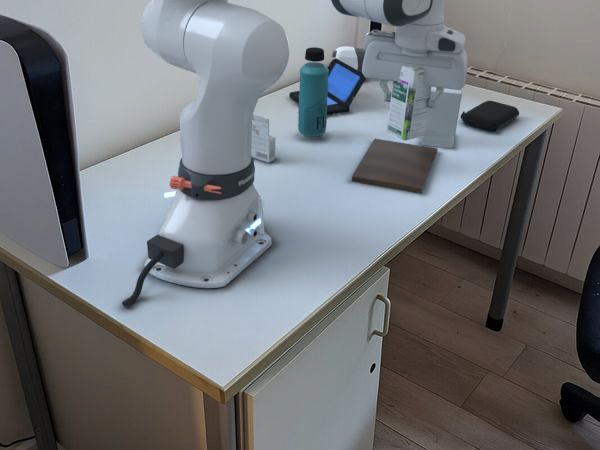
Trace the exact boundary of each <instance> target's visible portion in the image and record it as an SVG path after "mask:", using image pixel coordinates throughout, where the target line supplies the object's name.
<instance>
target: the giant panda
mask: <svg viewBox="0 0 600 450" xmlns="http://www.w3.org/2000/svg"><path fill="white" fill-rule="evenodd" d="M365 52H366V51H365V49H364V48H360V47H354V46H347V45H346V46H340V47H337V48H336V49H335V50H334V51H332V55H331V58H333V59H335V58H336V59H338V60H340V61H342V62H344V63H345V64H347V65H349V66H351V67H353V68H354V69H356V70H358V71H360V72H361V73H362V66H363V60H364V56H365ZM366 80H367V79H365V81H364V83H365V82H366Z"/></svg>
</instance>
